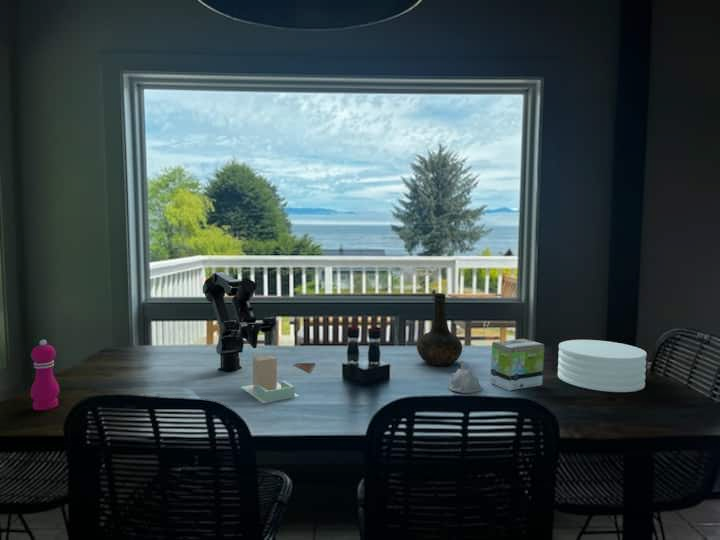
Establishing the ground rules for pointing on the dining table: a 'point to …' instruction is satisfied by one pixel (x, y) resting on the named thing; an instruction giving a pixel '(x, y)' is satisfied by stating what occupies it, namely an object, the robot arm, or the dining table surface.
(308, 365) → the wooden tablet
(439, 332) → the glass bottle
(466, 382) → the seashell
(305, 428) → the dining table surface
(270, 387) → the beige cardboard box
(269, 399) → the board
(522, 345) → the tea box
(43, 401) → the pepper mill
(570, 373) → the plate stack
